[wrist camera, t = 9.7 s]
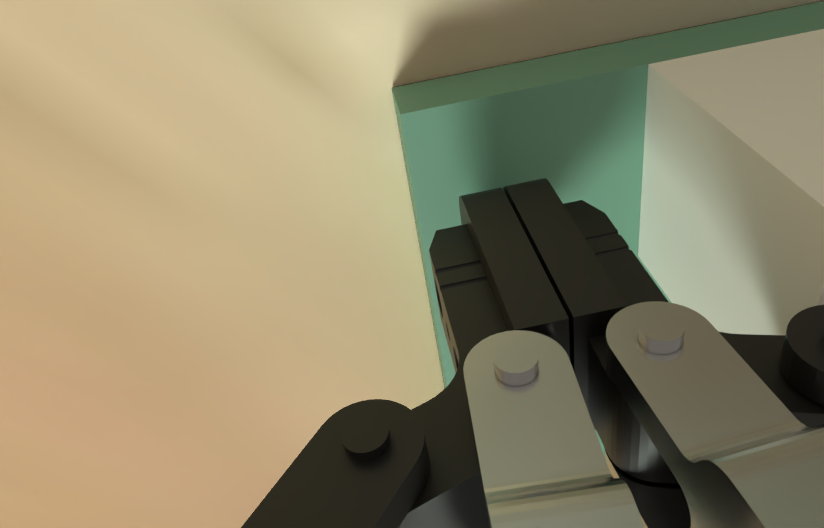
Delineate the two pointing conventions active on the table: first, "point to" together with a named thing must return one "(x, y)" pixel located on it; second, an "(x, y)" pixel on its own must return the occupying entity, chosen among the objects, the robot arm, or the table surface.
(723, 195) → the latch
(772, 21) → the board
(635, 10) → the table surface
